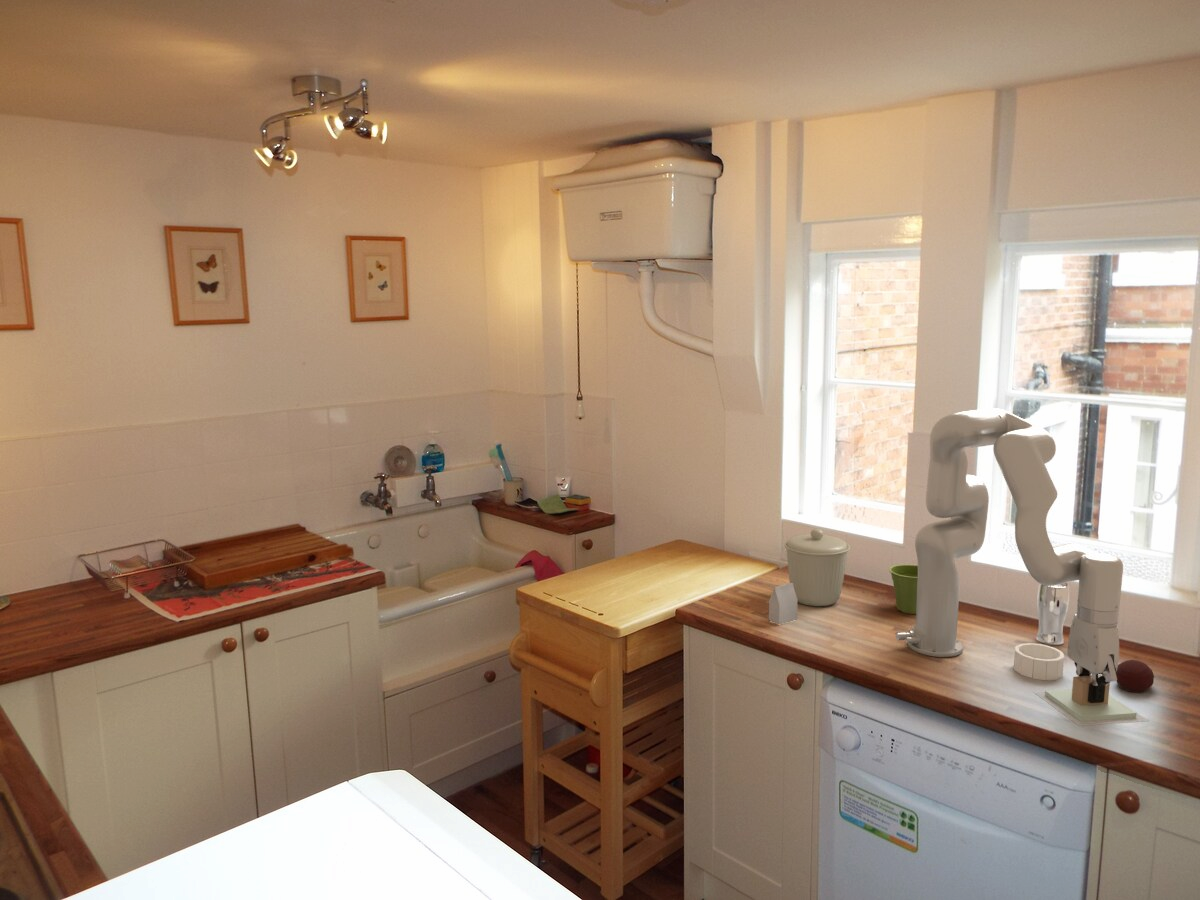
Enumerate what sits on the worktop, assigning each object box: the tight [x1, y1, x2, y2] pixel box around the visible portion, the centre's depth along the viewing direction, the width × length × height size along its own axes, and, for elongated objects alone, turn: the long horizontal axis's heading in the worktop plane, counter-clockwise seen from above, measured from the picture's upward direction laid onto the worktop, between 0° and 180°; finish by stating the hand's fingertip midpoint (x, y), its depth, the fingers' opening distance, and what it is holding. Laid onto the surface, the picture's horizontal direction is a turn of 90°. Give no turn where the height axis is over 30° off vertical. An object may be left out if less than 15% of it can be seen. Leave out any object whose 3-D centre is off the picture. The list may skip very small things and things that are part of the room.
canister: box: [783, 528, 851, 607], centre depth 248 cm, size 18×18×21 cm
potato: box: [1115, 659, 1155, 693], centre depth 192 cm, size 7×10×6 cm
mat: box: [1034, 691, 1149, 727], centre depth 183 cm, size 15×15×1 cm
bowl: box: [1013, 642, 1065, 681], centre depth 200 cm, size 10×10×5 cm
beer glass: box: [1035, 582, 1070, 646], centre depth 218 cm, size 7×7×15 cm
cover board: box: [1044, 674, 1138, 721], centre depth 183 cm, size 12×12×6 cm
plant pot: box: [888, 564, 918, 615], centre depth 241 cm, size 12×12×11 cm
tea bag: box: [768, 582, 798, 624], centre depth 234 cm, size 4×7×10 cm, turn 124°
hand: (1089, 697), depth 183 cm, fingers closed on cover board, 3 cm apart
